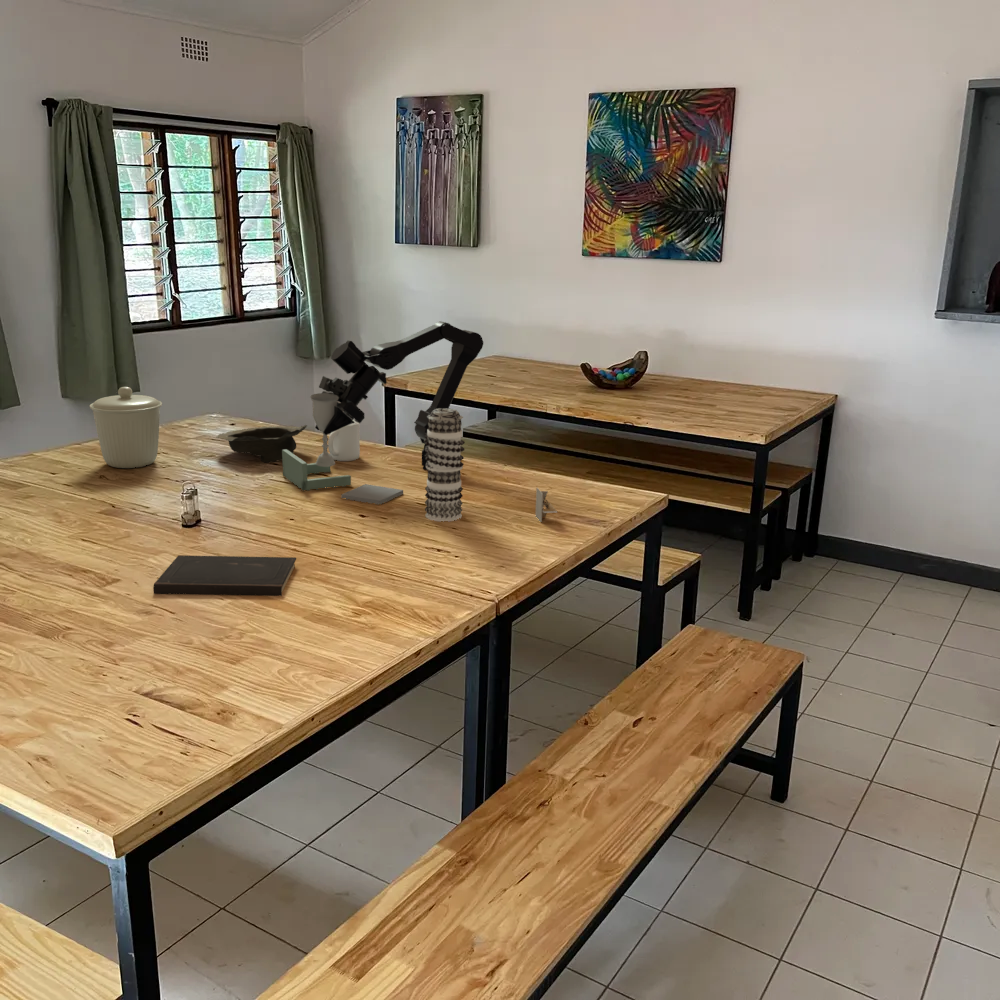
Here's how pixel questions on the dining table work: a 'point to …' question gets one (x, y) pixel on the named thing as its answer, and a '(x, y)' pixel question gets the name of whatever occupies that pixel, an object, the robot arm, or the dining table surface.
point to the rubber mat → (372, 494)
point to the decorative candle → (444, 465)
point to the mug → (345, 443)
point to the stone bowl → (263, 441)
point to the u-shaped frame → (299, 469)
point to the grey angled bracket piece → (540, 504)
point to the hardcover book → (225, 575)
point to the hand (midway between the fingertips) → (320, 431)
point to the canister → (127, 428)
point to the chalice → (324, 422)
